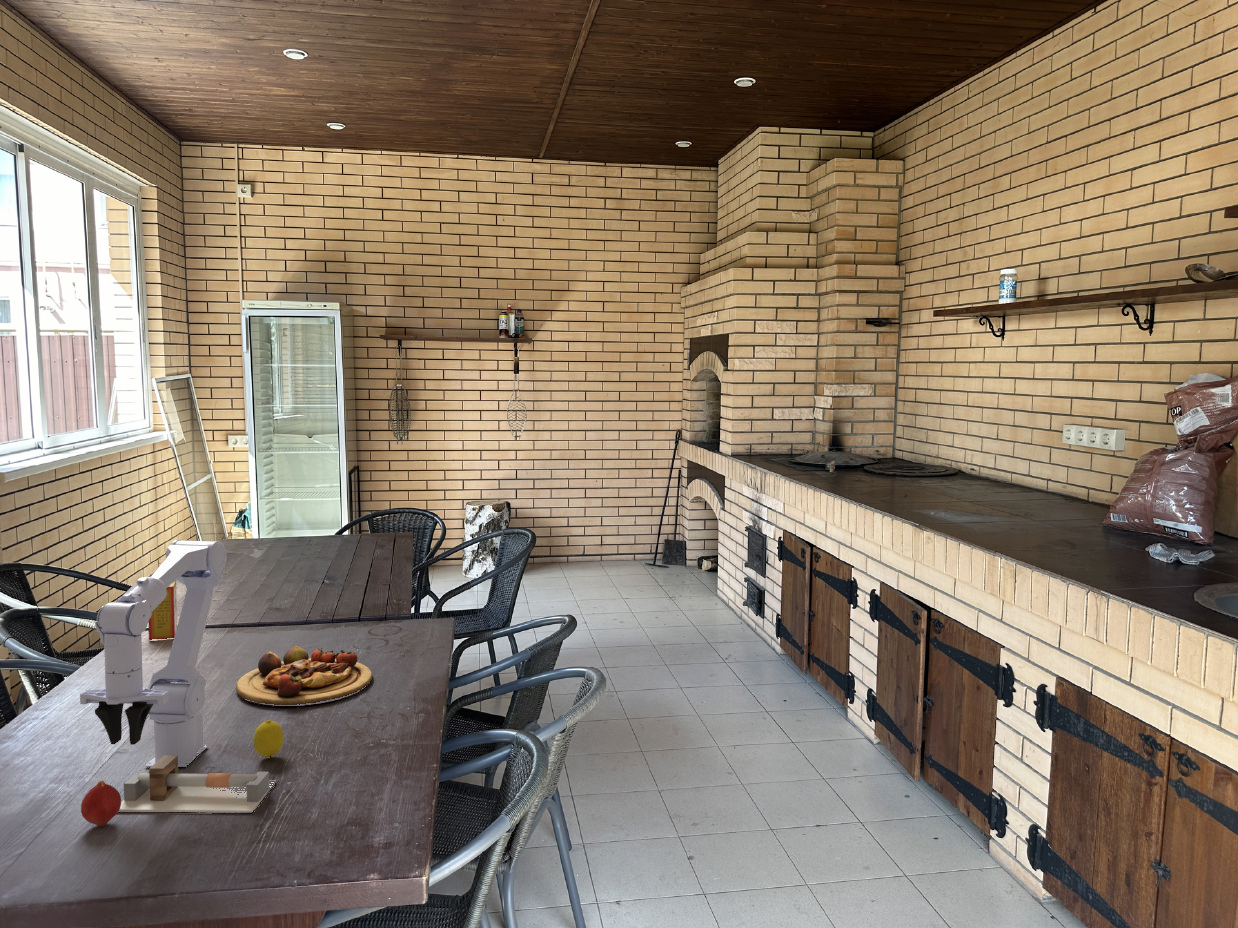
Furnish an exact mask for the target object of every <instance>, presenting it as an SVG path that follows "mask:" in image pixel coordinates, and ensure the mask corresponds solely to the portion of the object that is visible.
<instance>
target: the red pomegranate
mask: <svg viewBox="0 0 1238 928" xmlns="http://www.w3.org/2000/svg"><path fill="white" fill-rule="evenodd" d="M121 802H122V796H121V793H120V792H119V791H118V790H117V789H116V787H114V786H113V785H111V784H107V783H105V781H104V780H99V781H98V782H97V784H96V785H94V786H93V787H91V789H90V790H89V791H88V792H87V793H86V794H85V796H84V797H83V799H82V800H81V805H80V814H81V816H82V818H84V819H85V821H87V822H88V823H90V824H93V825H96V826H97V827H104V826H106V825H107V824H108V823H109V822H110V821H111V820H112V819H113V818H114V817H115V816H116V815H118V814H119V813H118V811H119V810H120V806H121Z"/></svg>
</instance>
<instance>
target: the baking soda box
mask: <svg viewBox="0 0 1238 928" xmlns="http://www.w3.org/2000/svg"><path fill="white" fill-rule="evenodd" d="M166 591H167V595H166V597H165V599H164V600H163V601H162V602H161V603H160V604H159V605H158V606H157V607H156V608H155V609H154V610H153V611H152V612H151V613H152V615H151V618H150V619H149V621H148V641H149V640H152V639H167V638H174V637H175V633H176V629H177V626H178V610H177V609H178V608H177V605H178V604H177V580H176V581H174V582H173V583H172V584H171V585H170V586H168V587H167V588H166Z"/></svg>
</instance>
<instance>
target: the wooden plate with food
mask: <svg viewBox="0 0 1238 928" xmlns="http://www.w3.org/2000/svg"><path fill="white" fill-rule="evenodd" d="M357 672H358V673H357ZM358 674H359V675H358ZM371 680H373V673H372V670H370V668H369V667H368V666H366V665H364V664H363V663H360V662H358V655H357V654H356V653H355V652H354V651H353V650H351V651H349V652H345V651H344V650H342V649H340V653H339V652H336V654H335V653H334V650H333V649H332V650H331V651H323V648H322V647H321V648H317V649H316V650H314V651H313V652H312V653H311V656H310V657H309V653H308V652H307V650H306V649H304V648H303V647H300V646H298V645H295V646H293V647H292V648H290V649H288V650H287V651H286V652H285V654H284V656H283V659H281V658H280V657H279V656H278V654H276V653H273V651H271V650H270V651H268V652H266V653H264V654H263V655H262V656H261V657H260V658H259V660H258V663H257V668H255V669H252V670H249V672H247V673H245V674H243V676H241V677H240V678H239V679H238V680H237V682H236V685H235V691H236V693H237V695H238V694H239V695H240V696H241V697H242V699H243V698H244V699H243V700H245V699H247V700H250V701H254V702H257V703H265V704H274V705H297V704H299V705H300V704H306V703H316V702H320V701H326V700H330V699H335V698H340V697H343V696H347V695H349V694H352V693H354V692H357V691H358V690H361V689H362V688H364V687H365V686H367V685H368V684H369V682H370V681H371ZM371 682H372V681H371ZM369 685H370V684H369ZM239 695H238V696H239ZM240 696H239V697H240ZM241 697H240V698H241Z"/></svg>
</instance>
